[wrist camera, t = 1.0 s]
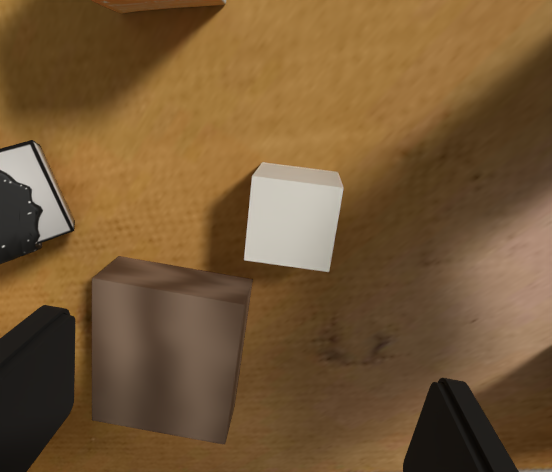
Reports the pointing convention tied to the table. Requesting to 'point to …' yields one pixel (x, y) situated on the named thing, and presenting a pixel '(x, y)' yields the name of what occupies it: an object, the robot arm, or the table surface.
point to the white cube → (293, 216)
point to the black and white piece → (29, 202)
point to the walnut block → (167, 347)
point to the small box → (154, 4)
